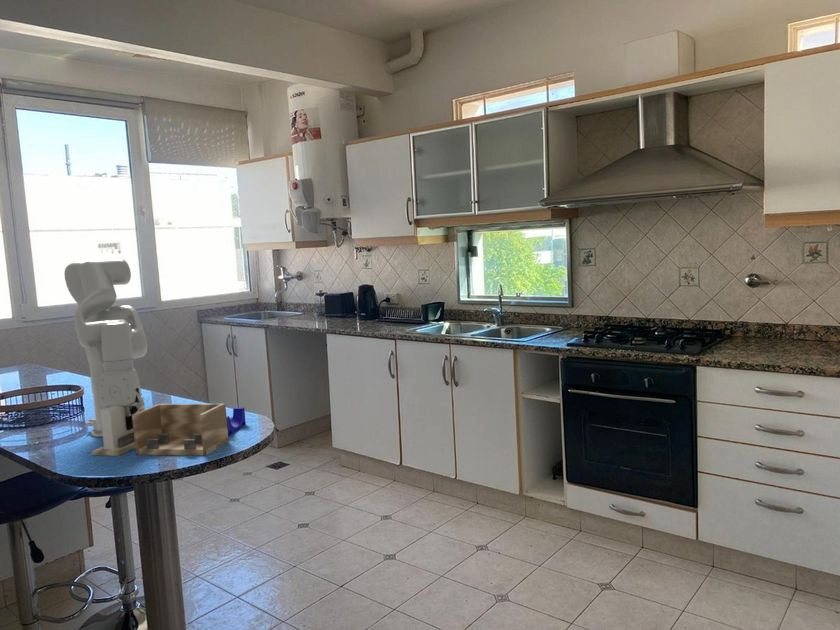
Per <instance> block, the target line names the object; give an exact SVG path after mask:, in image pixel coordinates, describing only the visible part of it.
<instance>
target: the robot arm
mask: <svg viewBox="0 0 840 630" xmlns="http://www.w3.org/2000/svg"><path fill="white" fill-rule="evenodd" d="M131 273H132V272H131V268H130V265H129V264H128V262H127V261H126V260H125V259H124V258H117V257H116V258H115V257H114V258H99V259H98V258H97V259H90V260H80V261H75V262H72V263H69V264H68V265H67V266H66V267H65V268H64V279H65V280H64V281H65V284H66V288H67V290H68V291H69V294H70V296H71V297H72V299H73V300H74V301H75V302H76V304H77V305H78V306H77V308H76V310H75V313H74V320H73V322H74V328H75V332H76V337H77V340H78V343H79V345H80V346H81V347H83V348H84V351H85V355H86V359H87V362H88V366H89V372H90V380H91V386H92V397H93V406H94V415H95V418H89V419H88V420H87V422H86V427H93V429H92V430H91V431H90V432H91V433H90V434H91V436H92V437H95V438H103V433H102V423H101V414H100V410H102V409H105V408H108V407H110V406H125V408H126V413H127V416H126V417H125V419H126V429H127V430H131V429H133V420H132V415H133V414H136V412H137V411H138V409H139V408H141V407H143V406H144V407H145V401H144V402H143V400H142V398H141V397H142V395H141V394H142V390H141V385H140V380H139V376H138V373H137V370H136V368H134V360H135V359H140V358H143V357H144V356H146V354H147V351H148V341H147V337H146V333H145V331H144V328H143V325H142V321H141V319H140V315H139V313H138V311H137V309H136V308H135V307H134V306H132V305H126V304H124V305H122V304H121V305H114V304H115V303H116V301H117V292H116V289H115V287H114V286H119V285H121V286H122V285H128V284H129V283H130V281H131V278H132V274H131ZM133 359H134V360H133ZM135 403H137V405H135ZM130 407H131V408H130Z"/></svg>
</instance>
